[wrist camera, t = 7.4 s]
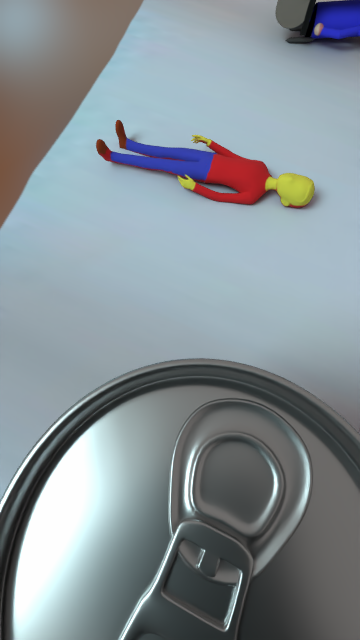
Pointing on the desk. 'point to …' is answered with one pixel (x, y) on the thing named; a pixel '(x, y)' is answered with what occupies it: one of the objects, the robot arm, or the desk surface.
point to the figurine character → (319, 18)
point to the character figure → (212, 170)
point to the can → (186, 513)
